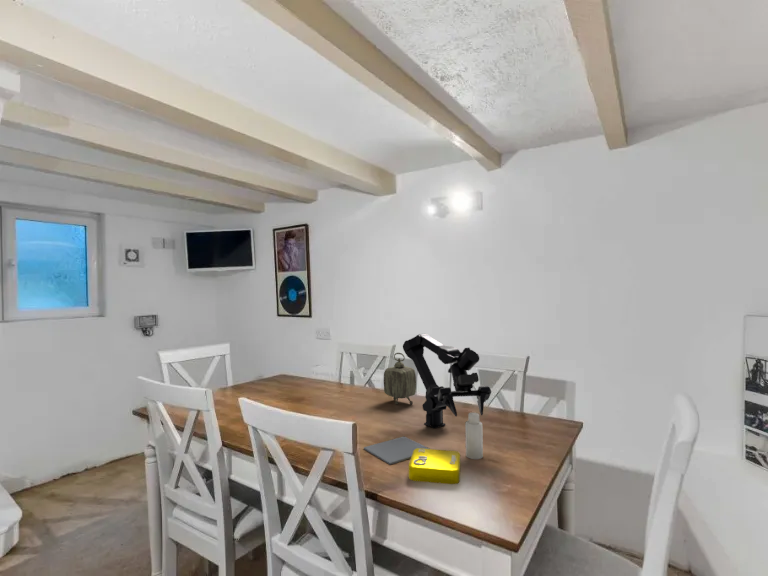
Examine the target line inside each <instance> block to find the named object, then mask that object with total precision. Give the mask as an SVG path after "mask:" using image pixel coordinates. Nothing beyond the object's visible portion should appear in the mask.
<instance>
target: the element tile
mask: <svg viewBox="0 0 768 576" xmlns="http://www.w3.org/2000/svg"><path fill="white" fill-rule="evenodd" d="M460 476H461V453H460V452H459V451H457V450H449V449H448V450H447V449H434V448H430V449H422V448H416V449H415V450H414V451H413V453H412V456H411V458H410V459H409V462H408V479H409V480H410V481H413V482H420V483H432V484H433V483H435V484H445V485H457V484H459V482H460V480H461V479H460V478H461V477H460Z"/></svg>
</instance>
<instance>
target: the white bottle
mask: <svg viewBox="0 0 768 576" xmlns="http://www.w3.org/2000/svg"><path fill="white" fill-rule="evenodd" d="M467 416H468V418H467V419H468V420H467V421H466V422H465V425H464V427H465V457H466V458H468V459H469V460H470V459H471V460H481V459H482V458H483V456H484V455H483V454H484V449H483V448H484V447H483V444H484V441H483V437H484V436H483V433H484V431H483V430H484V429H483V422H481V421H480V413H478V412H469V413H467Z"/></svg>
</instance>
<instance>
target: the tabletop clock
mask: <svg viewBox="0 0 768 576" xmlns="http://www.w3.org/2000/svg"><path fill="white" fill-rule="evenodd" d="M396 355H401V356H402V357H403V359H401V358H398V359H397V358H396ZM393 359H394V360H395V361H397V362H395V363H394V364H393V366H391V367H387V368H385V370H384V371H383V372H384V373H383V389H384V394H386V395H387V396H390V397H392V398H393V400H394V404H395V405H399V402H398V400H399V399H400V400H401V399H408V401H409V404H410V405H413V403H414V402H413V401H412V400H411V399H410V397H413V396H414V395H415V394H416V390H417V375H416V371H415V369H414V368H413V367H410V366H407V365H405V363H403V362H404V361H405V359H406V357H405V355H404V354H403V353H401V352H396V353H394V354H393Z"/></svg>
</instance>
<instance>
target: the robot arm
mask: <svg viewBox="0 0 768 576" xmlns="http://www.w3.org/2000/svg"><path fill="white" fill-rule="evenodd" d="M424 348H426V349H427V350H430V352H432V353H434V354H436V356H437V359H438V360H439V361H440V362H441V363H442V364H444V365H450V364H452V365H450V367H449V368H448V369H447V373H450V374H451V377H452V381H453V382H452V383H453V387H454V390H452V389H451V387H444V386H443V385H442V386H441V385H440V386H439V385H438V384H437V382H436V380H435V378H434V376H433V374H432V372H431V369H430V368H429V365H428V363H427V360H426V359H425V356H424V354H425V353H424V352H425V349H424ZM402 349H403V352H404V353H405V355H406V357H408V358H409V359H410V360H411V361H412V362H413V364H414V366H415V369H416V371H417V372H418V375H419V378H420V379H421V381H422V384H423V386H424V388H425V395H424V396H425V397H424V398H425V401H424V403H423V404H422V410H423V411H424V412H426V414H425V422H424V423H423V424H424V425H425V426H428V427H430V428H433V429H437V428H440V427H444V426H447V425H446V423H444V413H443V412H444V411H445V410H447V408H448V409H449V411H451V412H452V414H453V415H454V416H455V417H457V416H458V412H457V408H456V405H455V402H454V398H455V397H476V399H477V401H476V402H477V403H476V404H477V407H478V410H479V415H480V416H483V414H484V407H485V406H484V404H485V402H486V401H488V400H489V398H490V396H491V395H492V390H491V387H490V386H489V385H486V386H485V385H484V386H483V385H482V386H481V385H479V386H478V388H477V389H475V390H472V389H473V388H474V385H475V383H478V382H479V375H478V372H472V373H470V374H468V373H467V372H469V371H471V370H472V368H473V367H474V366H476V364H477V363H479V361H480V356H479V353H477V352H476V351H475V350H473V349H471V348H470V347H464V349H463V350H462V351H460V349H459V348H457V347H454V346H449V345H445V344H443V343H441V342H440V341H438V340H436V339H435V338H433V337H431V335H429V334H428V333H419V334H417V335H416V336H414V337H411V338H410V339H408V340H405V341H404V342H403V344H402ZM443 410H444V411H443Z"/></svg>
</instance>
